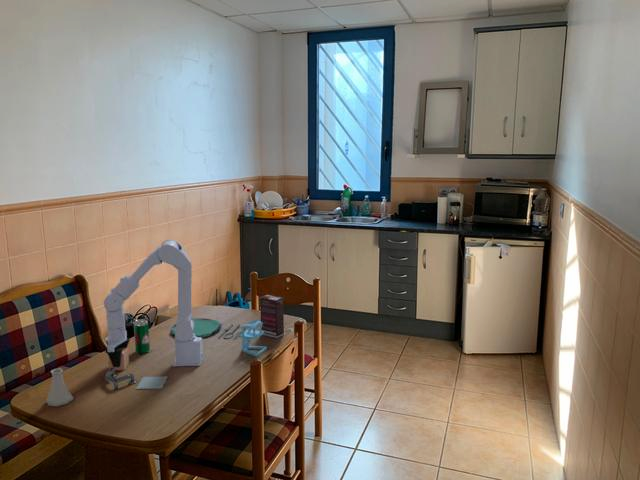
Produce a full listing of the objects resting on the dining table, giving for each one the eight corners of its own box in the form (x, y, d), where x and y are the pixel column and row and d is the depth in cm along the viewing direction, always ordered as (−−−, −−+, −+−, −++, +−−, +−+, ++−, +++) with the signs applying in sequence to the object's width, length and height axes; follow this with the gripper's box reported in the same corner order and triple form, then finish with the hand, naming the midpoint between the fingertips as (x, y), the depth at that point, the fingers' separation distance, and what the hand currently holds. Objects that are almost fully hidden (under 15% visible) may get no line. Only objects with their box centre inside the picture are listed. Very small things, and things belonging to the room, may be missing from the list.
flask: (55, 409, 151) (52, 378, 149) (41, 403, 154) (38, 372, 152) (78, 399, 157) (75, 368, 155) (64, 393, 160) (61, 363, 158)
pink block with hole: (129, 363, 181) (127, 347, 180) (124, 369, 176) (123, 353, 175) (114, 364, 181) (113, 348, 180) (109, 370, 176) (108, 354, 175)
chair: (248, 345, 197) (247, 316, 195) (267, 349, 194) (266, 319, 192) (237, 353, 190) (236, 322, 188) (256, 356, 187) (255, 325, 185)
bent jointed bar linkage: (141, 373, 173) (141, 365, 173) (132, 388, 163) (131, 380, 162) (110, 374, 173) (109, 366, 172) (98, 389, 162) (98, 381, 162)
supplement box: (284, 335, 208) (284, 297, 205) (277, 338, 204) (276, 300, 201) (267, 330, 213) (267, 294, 210) (260, 334, 209) (259, 297, 206)
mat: (167, 377, 171) (167, 376, 171) (161, 388, 163) (161, 387, 163) (143, 377, 170) (143, 377, 170) (136, 389, 163) (136, 388, 163)
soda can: (145, 354, 189) (143, 324, 186) (133, 353, 190) (130, 323, 187) (152, 349, 194) (150, 319, 191) (140, 348, 195) (138, 318, 192)
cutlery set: (185, 320, 225) (185, 315, 224) (250, 326, 219) (250, 321, 218) (162, 338, 206) (162, 332, 205) (233, 345, 200) (233, 339, 199)
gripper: (111, 319, 183) (114, 354, 185) (96, 334, 168) (100, 372, 171) (131, 318, 183) (134, 354, 186) (118, 333, 169) (121, 372, 171)
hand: (119, 363), depth 178 cm, fingers closed on pink block with hole, 5 cm apart
